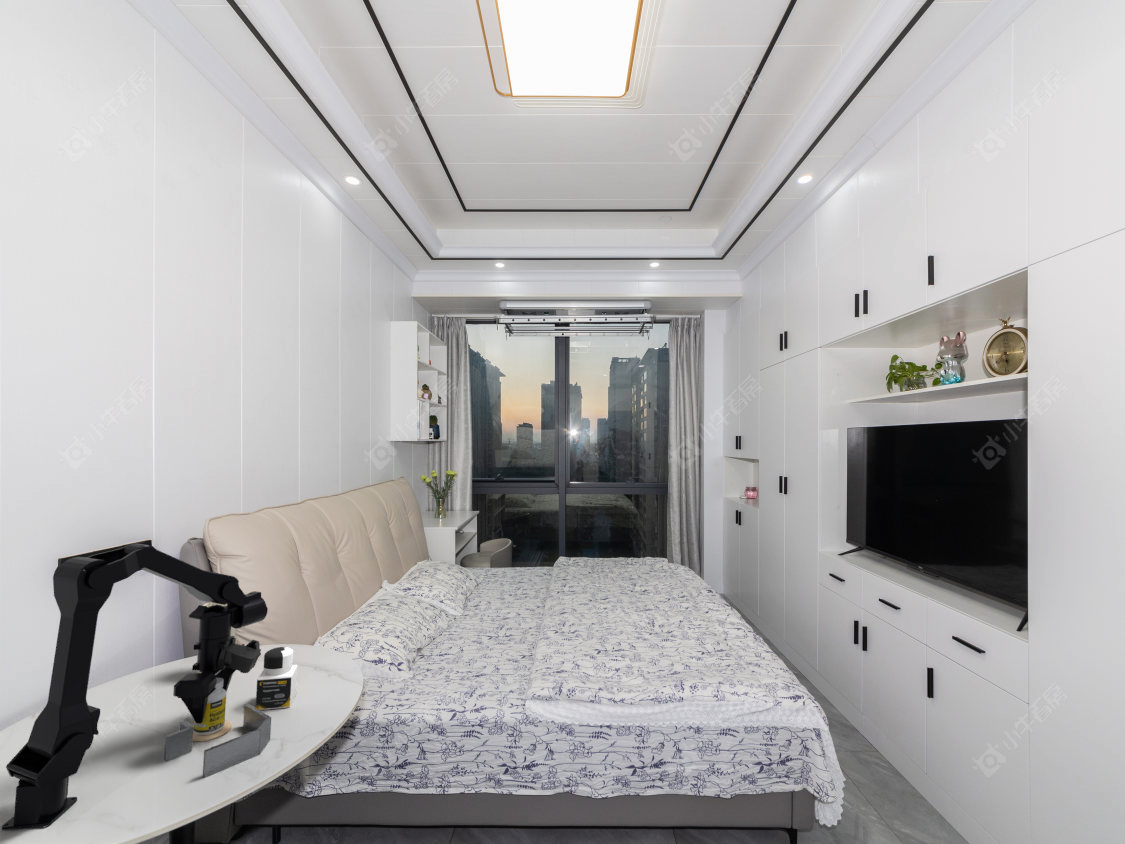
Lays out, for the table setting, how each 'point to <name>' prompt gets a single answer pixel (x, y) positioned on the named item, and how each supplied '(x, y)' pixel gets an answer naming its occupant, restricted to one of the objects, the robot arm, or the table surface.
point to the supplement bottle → (213, 712)
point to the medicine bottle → (277, 680)
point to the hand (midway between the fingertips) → (210, 711)
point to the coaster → (218, 734)
